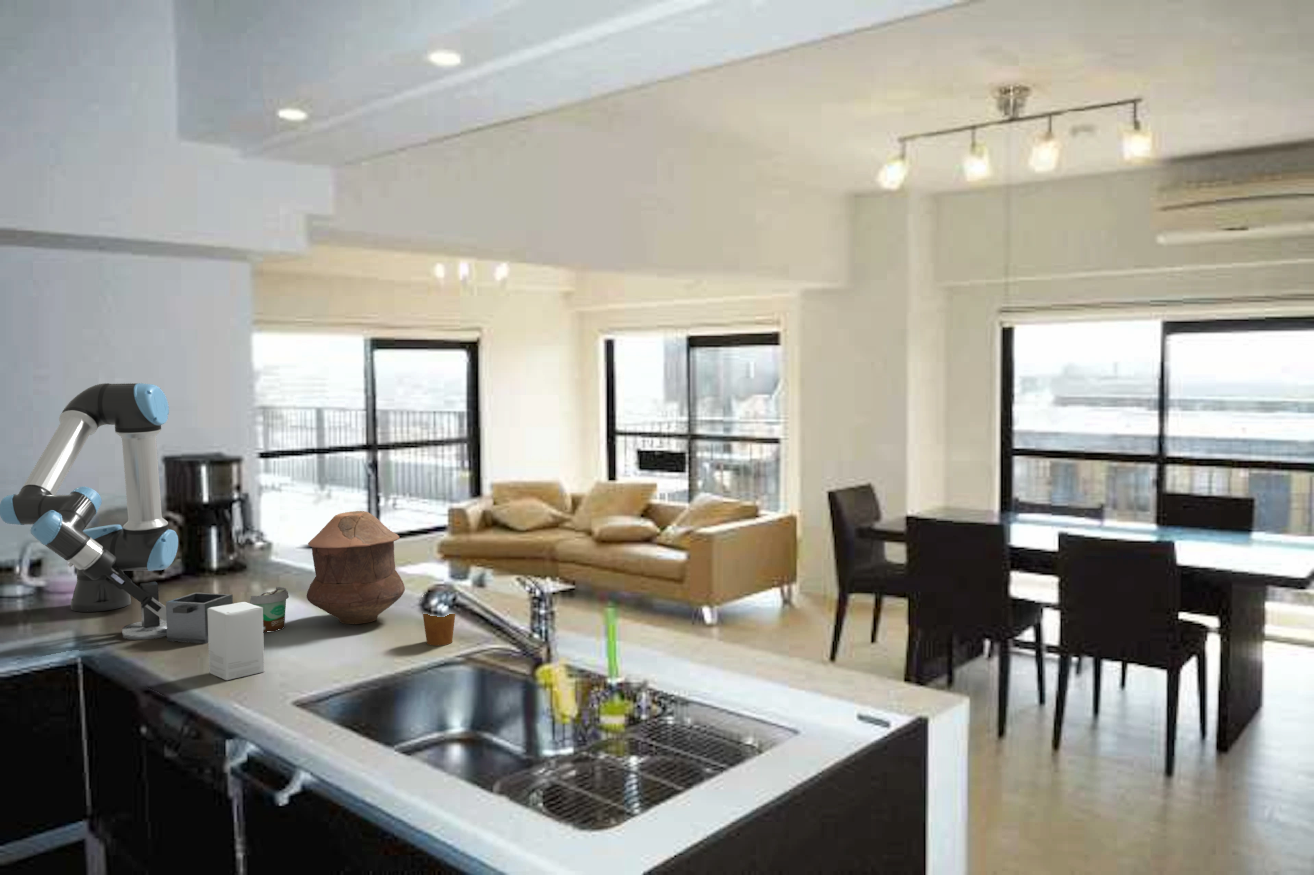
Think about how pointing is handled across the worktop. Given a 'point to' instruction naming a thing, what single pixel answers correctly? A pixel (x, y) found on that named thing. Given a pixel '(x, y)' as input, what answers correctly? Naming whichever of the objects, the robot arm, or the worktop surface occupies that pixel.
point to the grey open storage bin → (192, 616)
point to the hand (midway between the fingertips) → (165, 613)
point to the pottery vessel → (354, 568)
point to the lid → (147, 619)
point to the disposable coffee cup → (439, 629)
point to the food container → (272, 608)
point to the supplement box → (235, 640)
